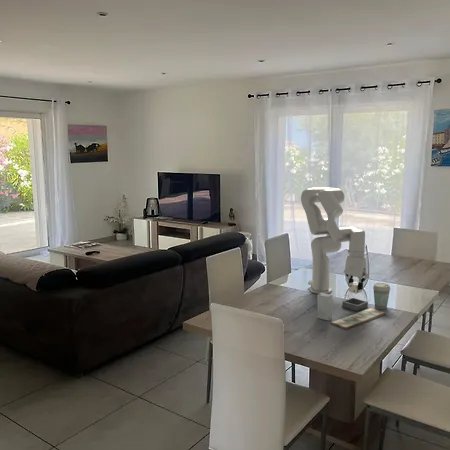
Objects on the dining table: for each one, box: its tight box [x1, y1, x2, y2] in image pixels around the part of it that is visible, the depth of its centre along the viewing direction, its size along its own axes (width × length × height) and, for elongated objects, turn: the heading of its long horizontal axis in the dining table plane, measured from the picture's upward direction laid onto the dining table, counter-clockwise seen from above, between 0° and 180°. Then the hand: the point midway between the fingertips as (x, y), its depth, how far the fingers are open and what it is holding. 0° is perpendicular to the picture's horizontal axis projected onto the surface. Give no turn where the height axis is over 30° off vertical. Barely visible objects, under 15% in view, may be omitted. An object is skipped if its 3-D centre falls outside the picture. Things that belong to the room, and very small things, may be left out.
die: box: [348, 281, 363, 295], centre depth 233 cm, size 5×5×5 cm
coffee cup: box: [372, 282, 391, 310], centre depth 233 cm, size 9×9×12 cm
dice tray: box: [341, 297, 369, 313], centre depth 235 cm, size 9×9×3 cm
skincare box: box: [316, 293, 333, 321], centre depth 219 cm, size 6×4×12 cm
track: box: [330, 307, 386, 331], centre depth 219 cm, size 9×30×1 cm, turn 127°
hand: (355, 287), depth 233 cm, fingers open, 5 cm apart
